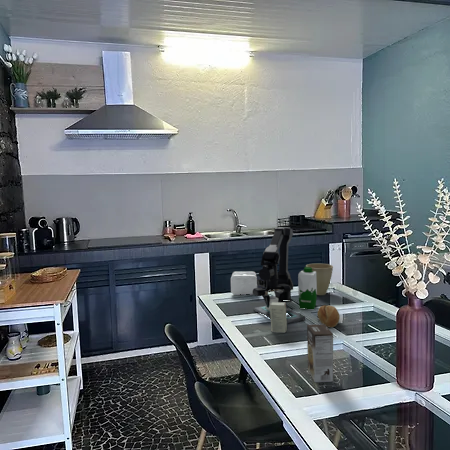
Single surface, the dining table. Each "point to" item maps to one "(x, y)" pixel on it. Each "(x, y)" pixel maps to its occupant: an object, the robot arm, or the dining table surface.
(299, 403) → the dining table surface
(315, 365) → the coffee box
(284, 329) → the skincare box
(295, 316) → the socket panel
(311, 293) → the milk carton
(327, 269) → the plant pot
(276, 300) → the plug
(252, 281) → the white rounded box
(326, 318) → the bread roll
